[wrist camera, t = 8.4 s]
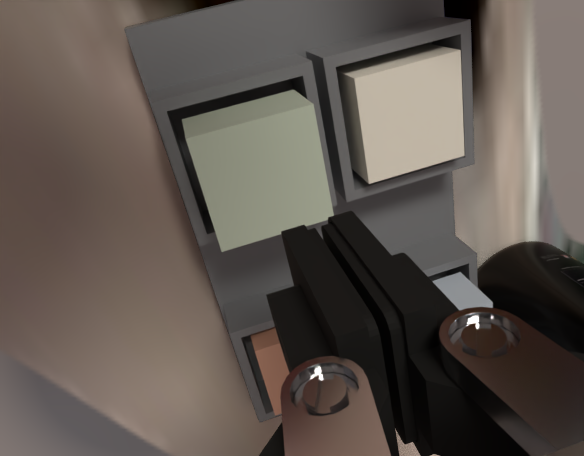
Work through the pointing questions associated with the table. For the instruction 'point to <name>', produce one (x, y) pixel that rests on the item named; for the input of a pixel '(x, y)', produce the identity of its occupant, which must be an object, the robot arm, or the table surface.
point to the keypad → (327, 103)
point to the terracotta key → (271, 364)
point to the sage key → (260, 167)
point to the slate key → (462, 292)
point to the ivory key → (402, 110)
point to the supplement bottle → (538, 290)
